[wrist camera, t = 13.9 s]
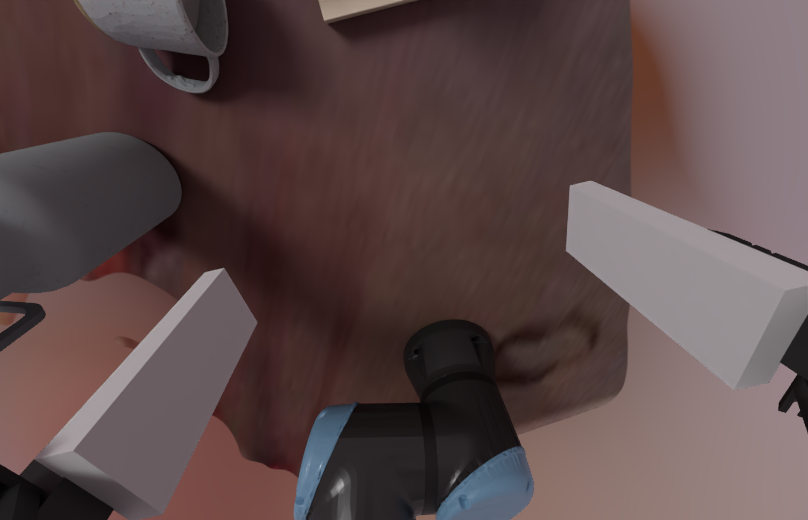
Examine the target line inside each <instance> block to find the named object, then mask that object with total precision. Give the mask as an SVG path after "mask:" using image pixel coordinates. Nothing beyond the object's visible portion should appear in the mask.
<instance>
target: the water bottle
mask: <svg viewBox="0 0 808 520" xmlns="http://www.w3.org/2000/svg"><path fill="white" fill-rule="evenodd" d="M181 196H182V190H181V184H180V181H179V177H178V175H177V173H176V171H175V169H174V168H173V166H172V165H171V164H170V162H169V161H168V160H167V159H166V158H165V157H164V156H163V155H162V154H161V153H160V152H159V151H157V150H156V149H155V148H154V147H152V146H151V145H149V144H147V143H146V142H144V141H142V140H140V139H138V138H135V137H133V136H130V135H126V134H122V133H114V132H103V133H96V134H91V135H87V136H82V137H77V138H73V139H68V140H63V141H59V142H54V143H49V144H45V145H40V146H35V147H30V148H26V149H21V150H16V151H12V152H7V153H2V154H0V300H1V299H3V298H4V297H6V296H8V295H9V294H11V293H13V292H14V293H42V292H49V291H54V290H57V289H60V288H63V287H66V286H68V285H70V284H72V283H74V282H76V281H77V280H79V279H80V278H82V277H83V276H85V275H86V274H88V273H89V272H90V271H92V270H93V269H95V268H96V267H98V266H99V265H100V264H102V263H103V262H105V261H106V260H108V259H109V258H111V257H112V256H113V255H115V254H116V253H118V252H119V251H121V250H122V249H123V248H125V247H126V246H128V245H129V244H131V243H132V242H133V241H135V240H136V239H138V238H139V237H141V236H142V235H143V234H145V233H146V232H148V231H149V230H151V229H152V228H154V227H155V226H156V225H158V224H159V223H161V222H162V221H164V220H165V219H166V218H168V217H169V216H171V215H172V214H173V213H174V212H175V211H176V210H177V208H178V206H179V204H180V202H181ZM0 312H8V313H22V314H25V316H24V317H23V318H21V319H20V320H19V321H18V322H16V323H15V324H13V325H12V326H10V327H9V328H7V329H6V330H4V331H3V332H2V333H0V351H2V350H3V349H4V348H6V347H7V346H8V345H10V344H11V343H12V342H14V341H15V340H16V339H18V338H19V337H21V336H22V335H23V334H24V333H26V332H27V331H29V330H30V329H31V328H33V327H34V326H35V325H37V324H38V323H39V322H41V321H42V320H43V319H44V318H45V315H46V313H45V311H44V310H43V308H42V306H41V305H39V304H36V303H25V302H10V301H0Z"/></svg>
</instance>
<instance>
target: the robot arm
mask: <svg viewBox="0 0 808 520" xmlns="http://www.w3.org/2000/svg"><path fill="white" fill-rule="evenodd" d="M566 251H567V252H568V253H569V254H571V255H572V256H573V257H574V258H575V259H577V260H578V261H579V262H580V263H581V264H583V265H584V266H585V267H586V268H587V269H589V270H590V271H591V272H592V273H593V274H595V275H596V276H597V277H598V278H599V279H601V280H602V281H603V282H604V283H605V284H607V285H608V286H609V287H610V288H611V289H613V290H614V291H615V292H616V293H617V294H619V295H620V296H621V297H622V298H624V299H625V300H626V301H627V302H628V303H630V304H631V305H632V306H633V307H634V308H636V309H637V310H638V311H639V312H640V313H642V314H643V315H644V316H645V317H646V318H648V319H649V320H650V321H651V322H652V323H654V324H655V325H656V326H657V327H658V328H660V329H661V330H662V331H663V332H664V333H666V334H667V335H668V336H669V337H671V338H672V339H673V340H674V341H675V342H676V343H678V344H679V345H680V346H681V347H682V348H684V349H685V350H686V351H687V352H688V353H690V354H691V355H692V356H693V357H694V358H696V359H697V360H698V361H699V362H700V363H702V364H703V365H704V366H705V367H706V368H708V369H709V370H710V371H711V372H712V373H714V374H715V375H716V376H717V377H719V378H720V379H721V380H722V381H723V382H724V383H726V384H727V385H728V386H729V387H731V388H732V389H733V390H738V389H743V388H747V387H751V386H756V385H761V384H765V383H769V382H770V380H771V379H772V377H773V375H774V374H775V372H776V370H777V368H778V367H779V365H780V363H782V364H784V365H785V366H787V367H788V368H789V369H791V370H792V371H794V372H795V373H797V376H796V377H795V379H794V381H793V382H792V383H791V385H790V387H789V388H788V390H787V391H786V393H785V394H784V396H783V397H782V399H781V400H780V402H779V407H778V411H781V412H785V413H786V412H787V411H788V409H789V408H790V406H791V405H792V403H793V402H798V405H799V408H800V412H799V413H798V416H799V417H802V418H803V420H804V423H805V426H806V429H807V432H808V266H807V265H805V264H802V263H800V262H797V261H795V260H792V259H790V258H787V257H785V256H782V255H780V254H777V253H773V254H772V253H771V251H770V250H767V249H765V248H763V247H760V246H758V245H753V246H752V243H750V242H748V241H745V240H743V239H740V238H738V237H735V236H733V235H730V234H727V233H723V232H719V231H714V230H710V229H705V228H702V227H701V226H698V225H696V224H693V223H691V222H689V221H686V220H684V219H681V218H679V217H676V216H674V215H672V214H669V213H667V212H665V211H662V210H660V209H657V208H655V207H653V206H650V205H648V204H645V203H643V202H641V201H638V200H636V199H634V198H631V197H629V196H626V195H624V194H622V193H619V192H617V191H614V190H612V189H610V188H607V187H605V186H602V185H600V184H598V183H595V182H593V181H587V182H583V183H579V184H575V185H571V186H570V194H569V210H568V227H567V243H566ZM256 324H257V321H256V319H255V318H254V316H253V315H252V313H251V311H250V310H249V308H248V306H247V305H246V303H245V301H244V300H243V298H242V296H241V295H240V293H239V291H238V290H237V288H236V287H235V285H234V283H233V282H232V280H231V278H230V277H229V275H228V273H227V272H226V270H225V268H222V269H218V270H213V271H209V272H205V273H204V274H203V275H202V276H201V277H200V278H199V279H198V280H197V282H196V283H195V284H194V285H193V286H192V287H191V288H190V289H189V290H188V291H187V293H186V294H185V295H184V296H183V297H182V298H181V299H180V300H179V301H178V302H177V303H176V305H175V306H174V307H173V308H172V309H171V310H170V311H169V312H168V313H167V315H166V316H165V317H164V318H163V319H162V320H161V321H160V322H159V323H158V324H157V325H156V327H155V328H154V329H153V330H152V331H151V332H150V333H149V334H148V335H147V336H146V337H145V339H144V340H143V341H142V342H141V343H140V344H139V345H138V346H137V347H136V348H135V349H134V351H133V352H132V353H131V354H130V355H129V356H128V357H127V358H126V359H125V360H124V362H123V363H122V364H121V365H120V366H119V367H118V368H117V369H116V370H115V371H114V372H113V374H112V375H111V376H110V377H109V378H108V379H107V380H106V381H105V382H104V383H103V384H102V385H101V387H100V388H99V389H98V390H97V391H96V392H95V393H94V394H93V395H92V397H91V398H90V399H89V400H88V401H87V402H86V403H85V404H84V405H83V406H82V408H81V409H80V410H79V411H78V412H77V413H76V414H75V415H74V416H73V417H72V418H71V419H70V421H69V422H68V423H67V424H66V425H65V426H64V427H63V428H62V430H60V431H59V433H58V434H57V435H56V436H55V437H54V438H53V439H52V440H51V441H50V442H49V443H48V445H47V446H46V447H45V448H44V449H43V450H42V451H41V452H40V454H38V456H37V457H36V458H35V459H34V460H33V461H32V462H31V463H30V464H29V466H27V468H26V469H25V470H24V471H23V472H22V473H21V474H20V475H17V474H16V473H14V472H12V471H11V470H9V469H7V468H6V467H4V466H2V465H0V520H107V519H108V518H109V516H110V515H111V513H112V511H113V510H114V511H116V512H117V513H119V514H121V515H122V516H124V517H125V518H127V519H128V520H140V519H144V518H149V517H153V516H158V515H162V514H163V513H164V511H165V509H166V507H167V505H168V503H169V501H170V499H171V497H172V495H173V493H174V491H175V489H176V487H177V484H178V483H179V481H180V479H181V477H182V475H183V473H184V470H185V469H186V466H187V464H188V462H189V460H190V458H191V456H192V454H193V452H194V450H195V448H196V446H197V444H198V442H199V440H200V438H201V435H202V434H203V432H204V430H205V428H206V426H207V424H208V422H209V420H210V418H211V416H212V414H213V412H214V410H215V408H216V405H217V403H218V401H219V399H220V397H221V395H222V393H223V391H224V389H225V387H226V385H227V383H228V381H229V379H230V377H231V375H232V373H233V371H234V369H235V367H236V365H237V363H238V361H239V359H240V357H241V355H242V353H243V351H244V349H245V347H246V344H247V342H248V340H249V338H250V336H251V334H252V332H253V330H254V328H255V326H256ZM404 365H405V370H406V373H407V376H408V378H409V379H410V381H411V383H412V385H413V387H414V389H415V391H416V393H417V395H418V397H419V398H420V402H421V403H368V404H359V402H354V403H353V404H344V405H332V406H328V407H326V408H325V409H323V410H322V411H321V412H320V414H319V415H318V416H317V418H316V420H315V422H314V425H313V427H312V430H311V433H310V436H309V439H308V442H307V446H306V449H305V453H304V457H303V461H302V465H301V469H300V474H299V479H298V485H297V494H296V500H295V505H294V519H295V520H416V516H418V515H429V514H434V515H436V520H509V519H511V518H513V517H514V516H516V515H517V514H518V513H519V512H521V511H522V510H523V509H524V508H525V507H526V506H527V505H528V504H529V502H530V500H531V498H532V496H533V493H534V481H533V478H532V474H531V471H530V468H529V465H528V462H527V459H526V456H525V455H526V454H525V450H524V448H523V447H522V446H521V444H520V441H519V439H518V437H517V434H516V431H515V429H514V426H513V424H512V422H511V419H510V417H509V414H508V412H507V409H506V407H505V404H504V402H503V399H502V397H501V395H500V392H499V390H498V387H497V385H496V382H495V358H494V349H493V346H492V343H491V341H490V339H489V337H488V335H487V333H486V332H485V331H484V330H483V329H482V328H481V327H479V326H478V325H476V324H474V323H471V322H468V321H463V320H445V321H440V322H436V323H433V324H431V325H428V326H426V327H424V328H423V329H421V330H419V331H418V332H417V333H416V334H414V335H413V336H412V337H411V339H410V340H409V341H408V343H407V345H406V347H405V350H404Z"/></svg>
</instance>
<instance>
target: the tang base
mask: <svg viewBox="0 0 808 520" xmlns="http://www.w3.org/2000/svg"><path fill="white" fill-rule="evenodd" d="M414 1H418V0H319V4H320V7H321V11H322V15H323V18H324V21H325V22H326V23H327V24H328V23H332V22H336V21H340V20H344V19H348V18H352V17H356V16H360V15H363V14H367V13H371V12H375V11H379V10H383V9H387V8H391V7H395V6H399V5H402V4H406V3H410V2H414Z"/></svg>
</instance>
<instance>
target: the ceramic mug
mask: <svg viewBox="0 0 808 520" xmlns="http://www.w3.org/2000/svg"><path fill="white" fill-rule="evenodd" d="M74 2H75V4H76V5H77V7H78V8H79V9H80V10H81V12H82V13H83V14H84V15H85V17H86V18H87V19H88V20H89V21H90V22H91V23H92V24H93V25H94V26H95V27H96V28H97V29H98V30H100V31H101V32H102V33H104V34H105V35H107V36H109V37H110V38H112V39H114V40H117V41H119V42H122V43H125V44H128V45H132V46H136V47H138V48H139V52H140V53H141V55H142V57H143V59H144V60H145V61H146V63H147V65H148V66H149V67H150V68H151V69H152V70H153V72H154V73H155V74H156V75H157V76H158V77H159V78H161V79H162V80H163V81H165V82H166V83H168V84H169V85H171V86H173V87H175V88H177V89H179V90H182V91H185V92H190V93H204V92H206V91H208V90H210V89H211V87H212V86H213V85H214V83H215V82H216V80H217V78H218V75H219V61H218V56H221V55H222V54H223V53H224V51H225V49H226V45H227V40H228V19H227V9H226V4H225V0H74ZM153 49H160V50H168V51H173V52H179V53H186V54H193V55H200V56H206V57H207V59H208V61H209V69H210V76H209V80H208V81H206V82H205V81H198V80H193V79H188V78H185V77H183V76H181V75H175V74H174V73H172V72H171V71H170V70H169V69H168V68H167V67H166V66H165V65H164V64H163V63H162V62H161V60H160V59H159V58H158V57H157V55H156V53H155V52H154V50H153Z"/></svg>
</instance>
